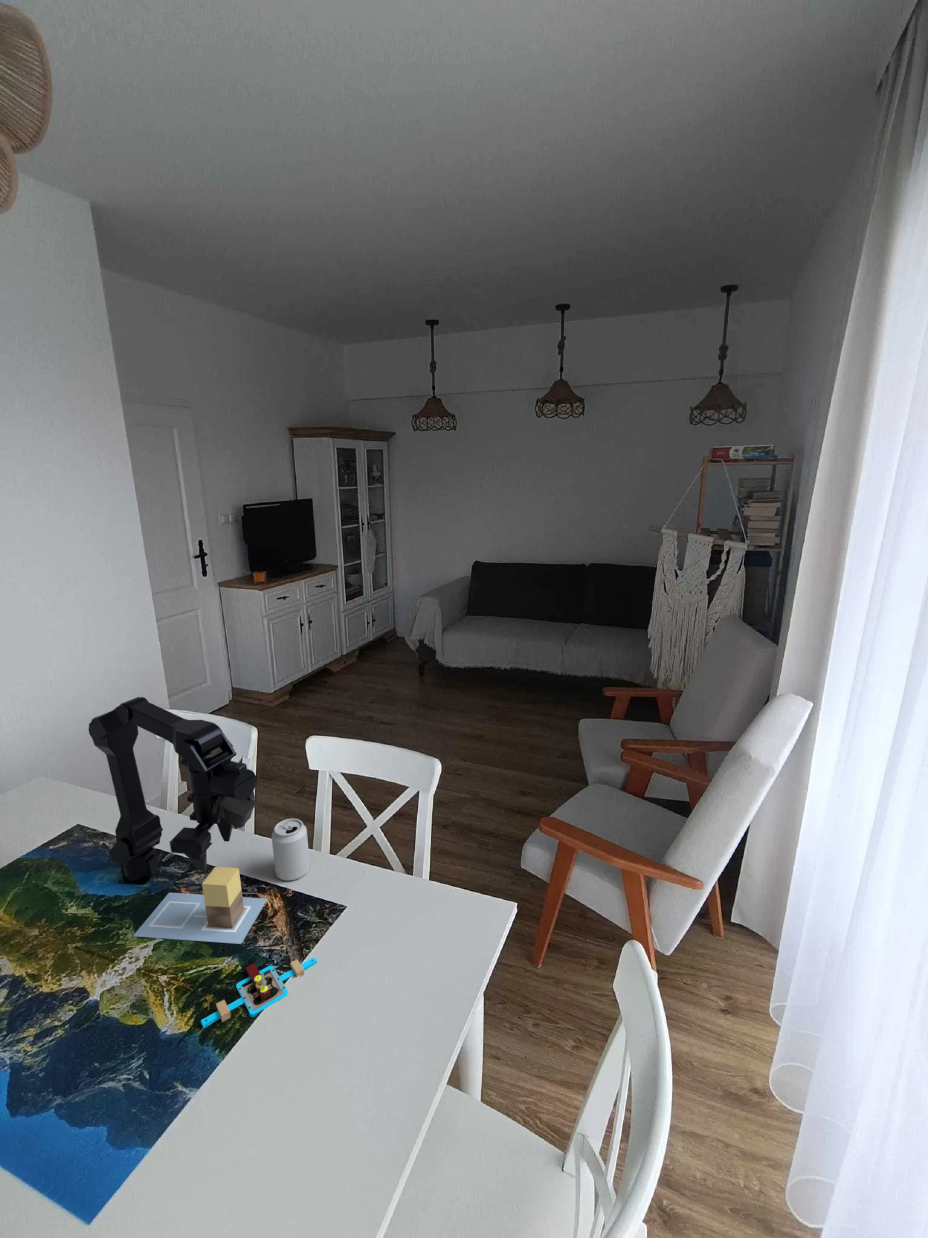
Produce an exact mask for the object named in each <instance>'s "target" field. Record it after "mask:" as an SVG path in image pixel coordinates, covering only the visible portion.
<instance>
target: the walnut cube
mask: <svg viewBox="0 0 928 1238" xmlns="http://www.w3.org/2000/svg"><path fill="white" fill-rule="evenodd" d="M243 897H244V896H243V891H242V888H241V891H240V892H239V894H238V895H237V897H236V898H235V900H234V901H233V903H232V904H231V906H230V907H218V906H205V907H206V914H207V921H208V927H217V928H233V927H234V925H235V924H236V922H237V921H238V919H239V917H240V916H241V914H242V913H243V911H244V905H243Z"/></svg>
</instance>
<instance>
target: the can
mask: <svg viewBox="0 0 928 1238" xmlns="http://www.w3.org/2000/svg"><path fill="white" fill-rule="evenodd" d="M303 822H304V821H301V819H298V818H287V819H284V820H281V821H280V822H278V823H277V824H276V825H274V828H273V832H272V833H271V843H272V844H271V845H272V853H273V860H274V862H273V863H274V870H275V871H274V873H275V876H276V877H277V878H278V879H280V880H282V881H286V882H287V881H288V882H290V881H295V880H299V879H300V878H302V877H303V876H305V875H306V874H308V872H309V871H310V867H311V862H310V851H309V841H308V828H307V827H306V826H305V825H304V823H303Z"/></svg>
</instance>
